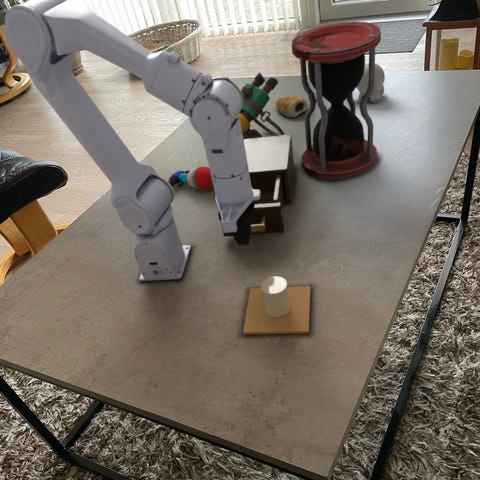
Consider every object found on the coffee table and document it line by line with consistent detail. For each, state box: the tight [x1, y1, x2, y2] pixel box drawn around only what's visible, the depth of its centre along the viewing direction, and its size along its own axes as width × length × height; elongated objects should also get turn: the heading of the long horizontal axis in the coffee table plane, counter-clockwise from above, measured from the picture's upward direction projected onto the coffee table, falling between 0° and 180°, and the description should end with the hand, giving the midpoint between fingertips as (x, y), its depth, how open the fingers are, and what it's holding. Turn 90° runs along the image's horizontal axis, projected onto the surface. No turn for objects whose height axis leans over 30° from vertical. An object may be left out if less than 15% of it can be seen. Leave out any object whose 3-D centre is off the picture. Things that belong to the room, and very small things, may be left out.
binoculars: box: [236, 72, 286, 139], centre depth 115 cm, size 14×14×15 cm
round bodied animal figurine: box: [355, 62, 386, 103], centre depth 124 cm, size 7×12×8 cm, turn 62°
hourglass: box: [291, 20, 382, 181], centre depth 98 cm, size 16×16×25 cm
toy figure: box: [167, 166, 214, 191], centre depth 108 cm, size 8×5×15 cm
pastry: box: [275, 95, 309, 119], centre depth 128 cm, size 9×7×4 cm
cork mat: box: [242, 285, 312, 335], centre depth 77 cm, size 10×10×1 cm
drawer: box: [217, 173, 285, 237], centre depth 92 cm, size 17×11×6 cm, turn 173°
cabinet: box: [244, 134, 295, 205], centre depth 102 cm, size 15×13×8 cm
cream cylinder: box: [260, 275, 290, 317], centre depth 75 cm, size 4×4×5 cm
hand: (244, 242), depth 82 cm, fingers closed
